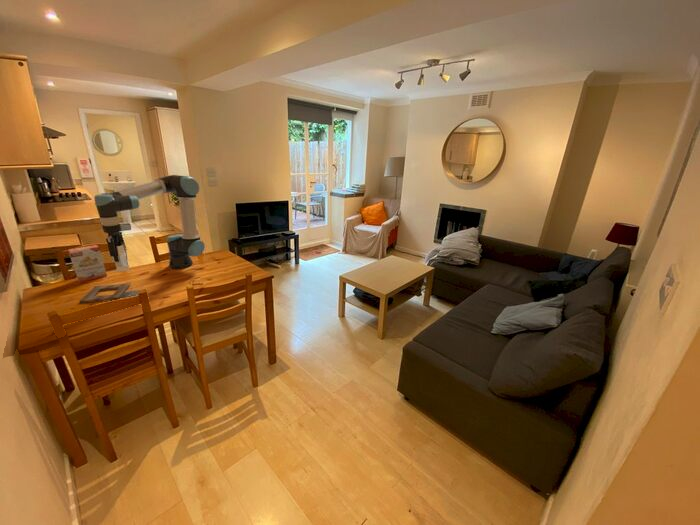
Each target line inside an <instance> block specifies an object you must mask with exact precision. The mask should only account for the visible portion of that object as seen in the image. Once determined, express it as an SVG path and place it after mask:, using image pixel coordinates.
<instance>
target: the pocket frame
mask: <svg viewBox="0 0 700 525" xmlns="http://www.w3.org/2000/svg"><path fill="white" fill-rule="evenodd" d="M130 286H131V283H130V282H129V283H120V284H119V283H118V284H109V285H108V284H107V285H97V286H93V287H92V288H91V289H90V290H89V291H88V292H87V293H86V294H85V295H84V296H83V297H81V299H80V300H79V303H80V304H87V303H86V302H88V303H95V302H94V301H98V302H103V301H102V300H106V301H108V302H109V301H116V300H115V299H118V300H119V298H120V296H121V295H122V294H123V293H125V292H127V290H128V289H129V288H130ZM113 290H115V291H114V292H113V294H106V295H98V294H99V293H100V292H101V291H102V292H103V291H113ZM106 301H105V302H106Z"/></svg>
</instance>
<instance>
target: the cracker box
mask: <svg viewBox="0 0 700 525" xmlns="http://www.w3.org/2000/svg"><path fill="white" fill-rule="evenodd" d="M67 252H68V255H69V258H70V261H71V263H72V266H73V269H74V272H75V274H76V275H75V276H76V278H77V280H78V282H79V283H82V282H87V281H91V279H92V280H96V279H101V278H104V277H105V278H106V277H108V275H107V271H106V268H105V265H104V261H103V257H102V253H101V250H100V248H99V246H98V245H97V244H94V245H89V246H88V245H87V246H82V247H76V248H70V249H67Z"/></svg>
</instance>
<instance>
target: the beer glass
mask: <svg viewBox="0 0 700 525" xmlns="http://www.w3.org/2000/svg"><path fill="white" fill-rule="evenodd" d="M124 243H125V242H124ZM124 243H121V244H122V245H121V246H117V248H118V255H120V259H121V262H122V267H116V272H117V273H123V272H128V271H130V270H131V267H130V265H129V262H127V261H128V252H127V251H128V250H126V249H127V247H126V248H125V246H126V244H125V245H124ZM111 258H112V260H113V262H114V263H115V261H114V258H113V256H112V257H111Z"/></svg>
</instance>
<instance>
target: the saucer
mask: <svg viewBox="0 0 700 525" xmlns="http://www.w3.org/2000/svg"><path fill="white" fill-rule="evenodd" d="M138 291H139V290H137V289H135V290H129V291H126V292H125V293H123V294H122V295H121V296H120V298H126V297H131V296H137V294H138ZM129 295H130V296H129ZM120 298H119V299H120ZM119 299H118V300H119Z"/></svg>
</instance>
